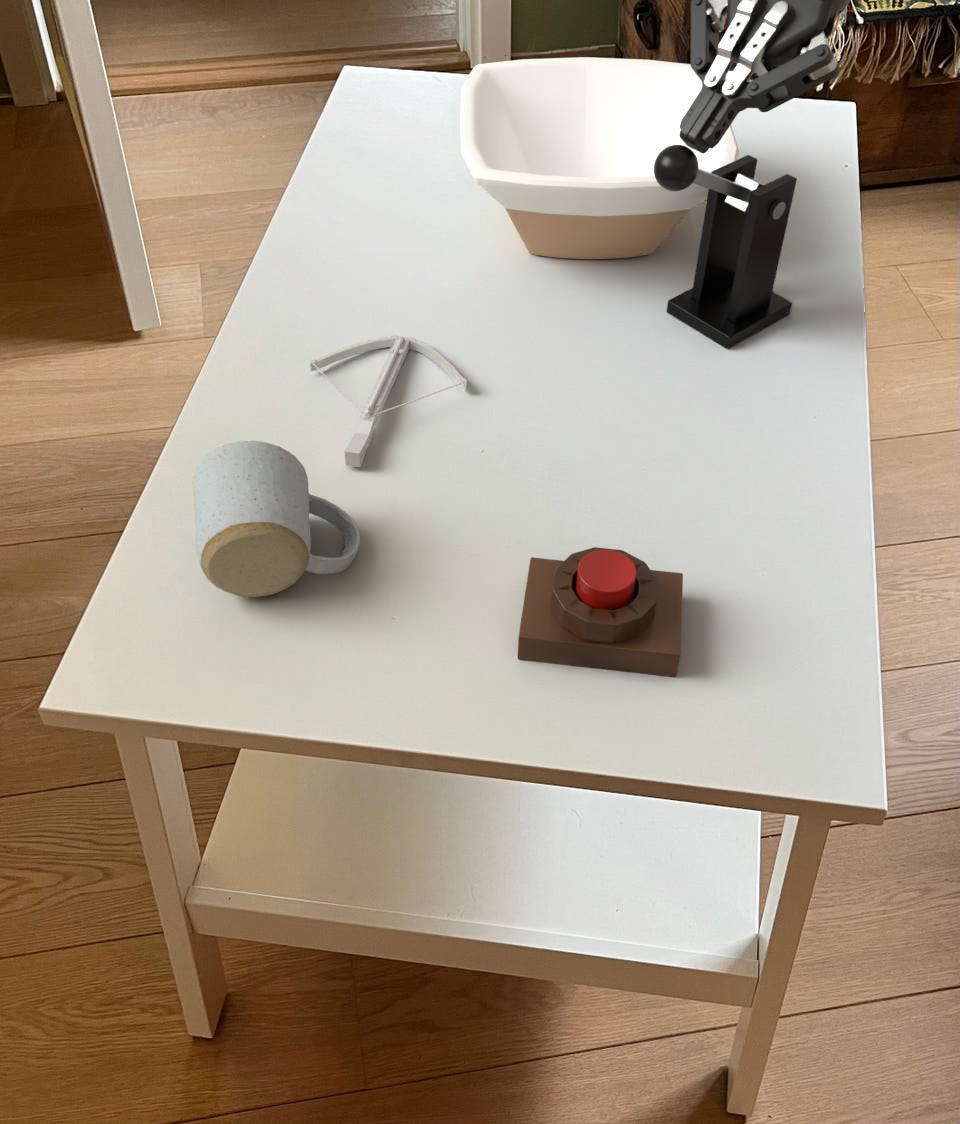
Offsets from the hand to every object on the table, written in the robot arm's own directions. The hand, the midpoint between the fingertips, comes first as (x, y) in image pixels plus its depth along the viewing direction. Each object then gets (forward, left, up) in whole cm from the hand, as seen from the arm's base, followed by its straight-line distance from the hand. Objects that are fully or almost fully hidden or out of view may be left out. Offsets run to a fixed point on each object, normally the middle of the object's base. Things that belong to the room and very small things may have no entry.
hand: (691, 145), depth 85 cm
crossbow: (+13, +20, -18) cm, 30 cm away
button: (-14, +28, -14) cm, 34 cm away
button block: (-14, +28, -18) cm, 36 cm away
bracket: (-1, -8, -18) cm, 20 cm away
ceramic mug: (+7, +37, -18) cm, 42 cm away
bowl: (+17, -12, -18) cm, 27 cm away
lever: (0, -2, -5) cm, 6 cm away
